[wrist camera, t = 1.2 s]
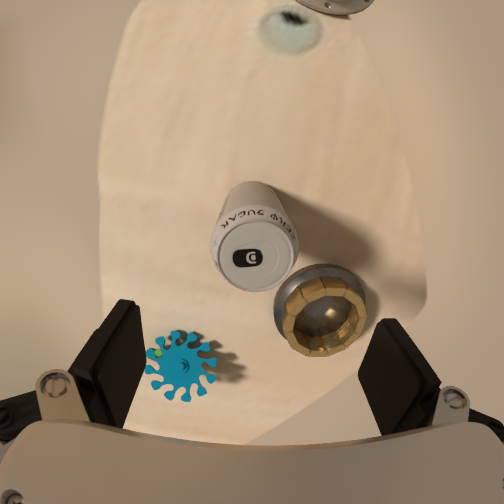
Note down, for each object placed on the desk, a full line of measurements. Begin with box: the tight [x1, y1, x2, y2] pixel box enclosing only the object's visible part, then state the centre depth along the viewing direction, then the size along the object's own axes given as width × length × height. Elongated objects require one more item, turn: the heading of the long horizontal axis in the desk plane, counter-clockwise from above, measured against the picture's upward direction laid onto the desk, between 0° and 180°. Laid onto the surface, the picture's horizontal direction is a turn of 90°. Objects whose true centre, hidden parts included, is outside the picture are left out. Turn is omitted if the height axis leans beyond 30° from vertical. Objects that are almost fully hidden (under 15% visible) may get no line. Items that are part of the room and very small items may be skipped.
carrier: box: [273, 264, 367, 357], centre depth 35 cm, size 12×12×4 cm
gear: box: [145, 331, 217, 402], centre depth 37 cm, size 11×6×10 cm
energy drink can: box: [210, 181, 299, 292], centre depth 25 cm, size 6×6×15 cm
